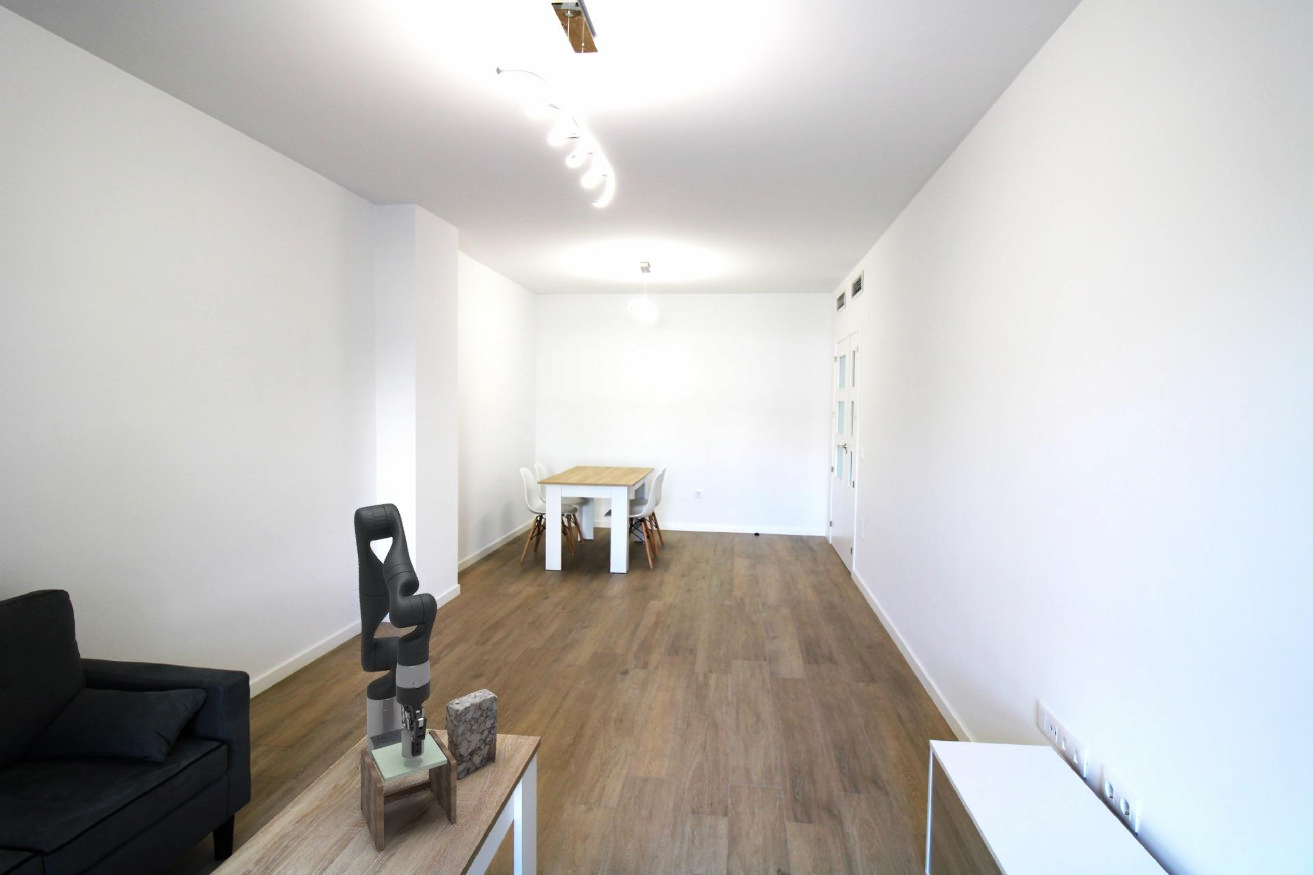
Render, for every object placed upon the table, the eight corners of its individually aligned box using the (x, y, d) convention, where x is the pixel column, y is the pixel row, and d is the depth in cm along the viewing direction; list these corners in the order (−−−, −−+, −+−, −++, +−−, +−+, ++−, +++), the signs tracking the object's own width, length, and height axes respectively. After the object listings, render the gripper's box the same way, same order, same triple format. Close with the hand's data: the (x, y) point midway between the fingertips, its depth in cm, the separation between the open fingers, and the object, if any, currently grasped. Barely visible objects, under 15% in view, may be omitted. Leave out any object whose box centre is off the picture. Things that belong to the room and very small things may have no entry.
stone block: (460, 783, 166) (461, 709, 165) (444, 774, 170) (444, 702, 169) (499, 760, 177) (499, 691, 176) (483, 752, 181) (483, 685, 180)
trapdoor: (365, 749, 159) (365, 738, 159) (422, 733, 167) (422, 722, 167) (384, 791, 142) (384, 778, 142) (447, 771, 150) (447, 759, 150)
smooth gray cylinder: (399, 751, 149) (399, 728, 149) (420, 744, 152) (420, 722, 151) (404, 761, 145) (404, 737, 145) (426, 754, 148) (426, 731, 147)
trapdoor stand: (361, 808, 155) (360, 749, 154) (433, 784, 165) (433, 729, 165) (378, 851, 140) (377, 786, 139) (456, 822, 150) (456, 761, 150)
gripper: (388, 672, 151) (389, 740, 152) (404, 694, 139) (404, 769, 140) (421, 665, 155) (420, 731, 156) (438, 686, 144) (438, 758, 145)
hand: (413, 749), depth 148 cm, fingers closed on smooth gray cylinder, 5 cm apart
